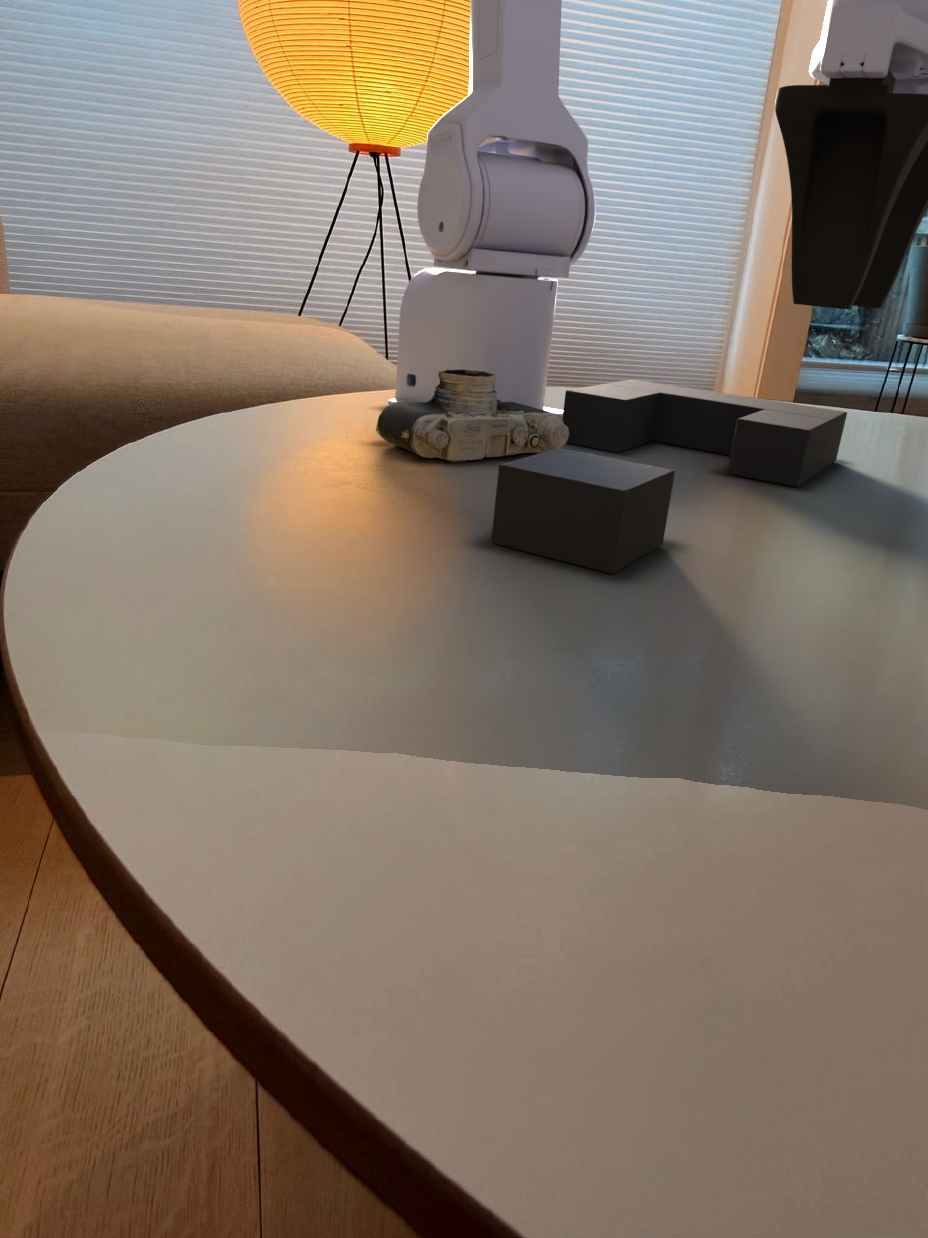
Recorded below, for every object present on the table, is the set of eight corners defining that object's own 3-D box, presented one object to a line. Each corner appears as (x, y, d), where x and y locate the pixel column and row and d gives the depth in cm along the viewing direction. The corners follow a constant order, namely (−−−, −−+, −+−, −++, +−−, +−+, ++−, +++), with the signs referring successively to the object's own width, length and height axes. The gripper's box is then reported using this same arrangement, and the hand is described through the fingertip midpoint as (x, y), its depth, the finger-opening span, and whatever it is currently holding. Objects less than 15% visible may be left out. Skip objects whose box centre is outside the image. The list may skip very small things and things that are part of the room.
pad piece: (490, 542, 35) (498, 464, 34) (550, 518, 39) (558, 447, 38) (612, 574, 33) (625, 491, 32) (663, 544, 37) (675, 470, 36)
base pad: (559, 441, 55) (565, 390, 54) (624, 423, 64) (630, 378, 62) (797, 487, 49) (810, 430, 48) (836, 461, 57) (847, 411, 56)
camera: (577, 455, 52) (587, 378, 50) (416, 465, 46) (422, 379, 45) (523, 436, 56) (531, 364, 54) (369, 443, 50) (372, 363, 49)
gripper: (1052, -187, 26) (923, 319, 31) (1053, -36, 38) (960, 314, 43) (796, -157, 29) (717, 298, 34) (871, -26, 41) (804, 298, 46)
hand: (840, 306), depth 39 cm, fingers open, 7 cm apart
